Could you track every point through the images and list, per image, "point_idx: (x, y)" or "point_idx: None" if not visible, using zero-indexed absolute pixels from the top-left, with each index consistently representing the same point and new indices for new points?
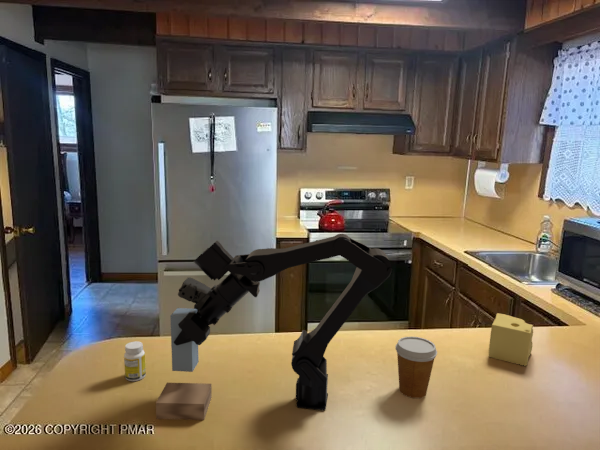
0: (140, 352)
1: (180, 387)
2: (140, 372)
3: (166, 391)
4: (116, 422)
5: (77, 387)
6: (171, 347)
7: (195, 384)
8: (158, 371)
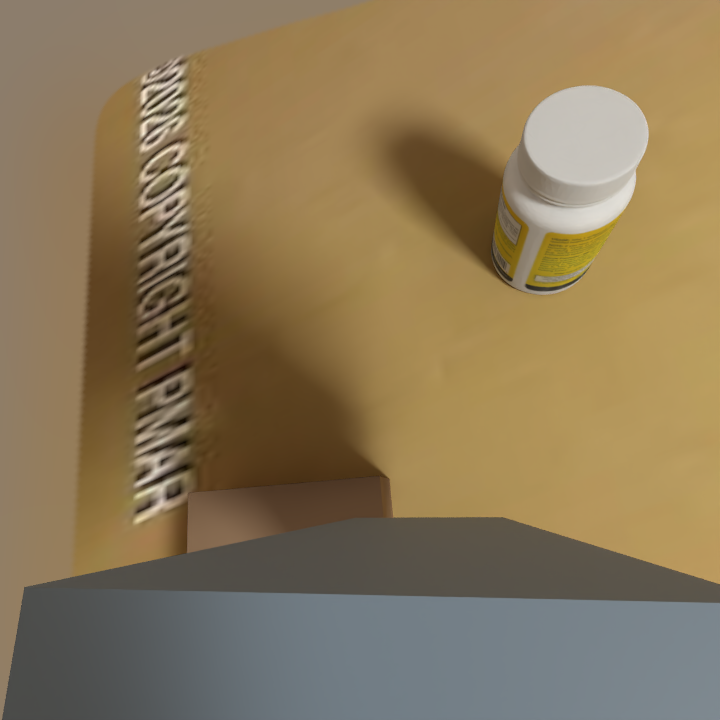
0: (567, 207)
1: None
2: (520, 272)
3: (290, 508)
4: (198, 346)
5: (407, 88)
6: (310, 527)
7: None
8: (621, 335)
